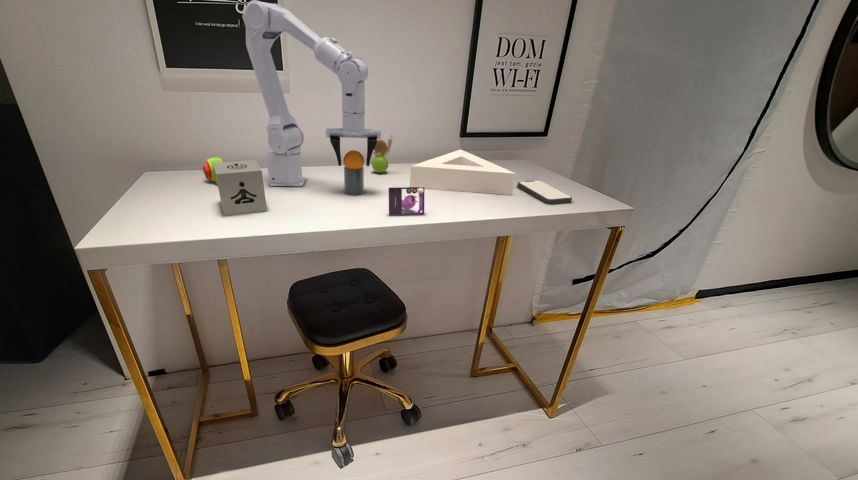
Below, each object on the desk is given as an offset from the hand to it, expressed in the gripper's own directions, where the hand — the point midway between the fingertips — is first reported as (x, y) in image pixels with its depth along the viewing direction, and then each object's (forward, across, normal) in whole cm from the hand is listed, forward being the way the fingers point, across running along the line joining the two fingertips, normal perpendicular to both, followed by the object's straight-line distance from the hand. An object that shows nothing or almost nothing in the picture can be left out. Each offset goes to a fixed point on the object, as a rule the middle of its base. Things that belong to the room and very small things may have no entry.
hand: (353, 165), depth 107 cm
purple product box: (+8, +13, -15) cm, 21 cm away
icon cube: (+8, -28, -12) cm, 31 cm away
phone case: (+8, +56, 0) cm, 57 cm away
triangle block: (+8, +29, +9) cm, 31 cm away
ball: (+2, 0, 0) cm, 2 cm away
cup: (+8, 0, 0) cm, 8 cm away
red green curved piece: (+8, -42, +12) cm, 44 cm away
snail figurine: (+8, +9, +20) cm, 23 cm away
